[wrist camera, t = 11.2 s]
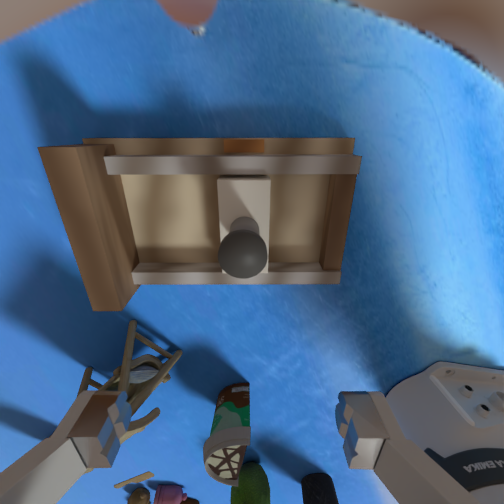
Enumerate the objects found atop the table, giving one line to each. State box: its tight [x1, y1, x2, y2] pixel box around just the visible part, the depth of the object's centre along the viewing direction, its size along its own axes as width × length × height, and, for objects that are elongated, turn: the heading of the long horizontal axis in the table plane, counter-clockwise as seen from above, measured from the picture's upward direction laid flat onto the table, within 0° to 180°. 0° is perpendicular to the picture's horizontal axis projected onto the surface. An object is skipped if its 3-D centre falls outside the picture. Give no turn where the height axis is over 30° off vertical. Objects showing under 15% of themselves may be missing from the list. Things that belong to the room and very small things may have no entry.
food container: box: [203, 383, 251, 486], centre depth 40 cm, size 12×6×10 cm, turn 171°
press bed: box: [37, 138, 362, 311], centre depth 27 cm, size 27×17×8 cm, turn 90°
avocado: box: [231, 462, 270, 504], centre depth 49 cm, size 8×8×12 cm
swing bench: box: [49, 320, 182, 474], centre depth 34 cm, size 15×10×15 cm, turn 135°
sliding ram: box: [217, 175, 271, 279], centre depth 24 cm, size 5×10×9 cm, turn 0°
